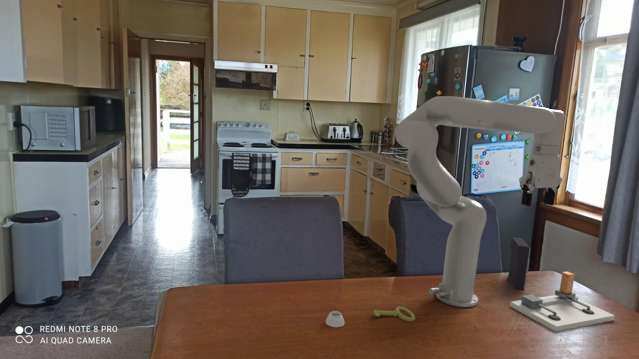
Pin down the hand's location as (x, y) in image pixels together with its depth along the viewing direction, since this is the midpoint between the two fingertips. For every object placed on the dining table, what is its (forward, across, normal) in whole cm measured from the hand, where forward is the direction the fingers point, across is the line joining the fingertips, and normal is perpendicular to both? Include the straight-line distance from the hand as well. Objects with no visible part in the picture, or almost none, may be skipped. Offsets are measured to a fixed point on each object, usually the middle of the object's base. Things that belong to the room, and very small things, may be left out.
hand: (537, 204), depth 141 cm
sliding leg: (+28, +7, -12) cm, 31 cm away
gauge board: (+30, +1, -13) cm, 33 cm away
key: (+31, -49, 0) cm, 58 cm away
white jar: (+31, -68, 0) cm, 74 cm away
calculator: (+30, +6, +9) cm, 32 cm away
